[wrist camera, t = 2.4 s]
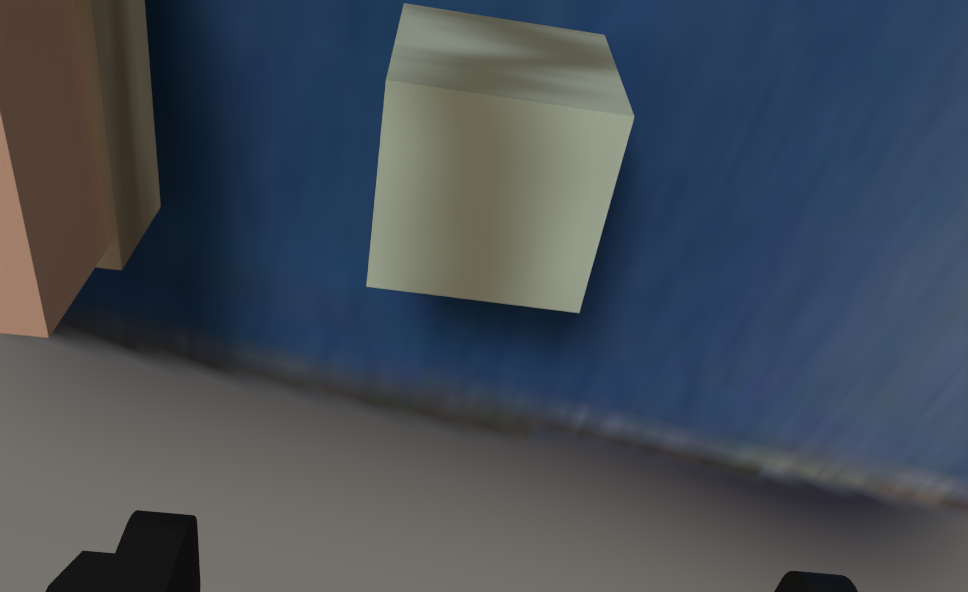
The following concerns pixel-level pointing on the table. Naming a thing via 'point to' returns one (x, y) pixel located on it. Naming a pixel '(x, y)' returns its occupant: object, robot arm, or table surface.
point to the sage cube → (495, 159)
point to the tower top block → (45, 168)
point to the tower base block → (121, 119)
